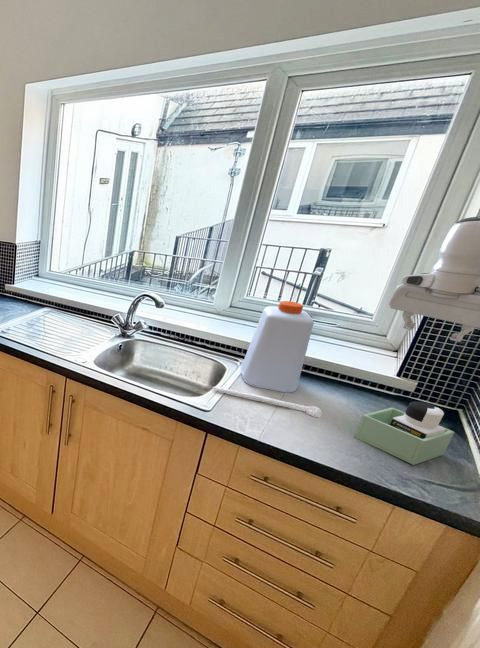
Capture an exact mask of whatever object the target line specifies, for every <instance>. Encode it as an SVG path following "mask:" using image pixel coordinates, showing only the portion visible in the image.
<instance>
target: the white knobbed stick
mask: <svg viewBox="0 0 480 648" xmlns="http://www.w3.org/2000/svg"><path fill="white" fill-rule="evenodd" d="M212 390H214V391H217V392H220V393H223V394H227V395H232V396H235V397H239V398H243V399H249V400H253V401H256V402H257V401H258V402H262V403H267V404H271V405H274V406H279V407H284V408H287V409H292V410H296V411H300V412H302V413H303V412H304V413H306V415H309V416H311V417H314V418H321V417H322V413H323V412H322V409H321V408H319V407H318V406H314V405H309V406H307V405H303V404H299V403H293V402H289V401H285V400H280V399H276V398H271V397H267V396H263V395H259V394H254V393H249V392H244V391H239V390H235V389H231V388H230V389H228V388H223V387H219V386H212Z"/></svg>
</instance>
